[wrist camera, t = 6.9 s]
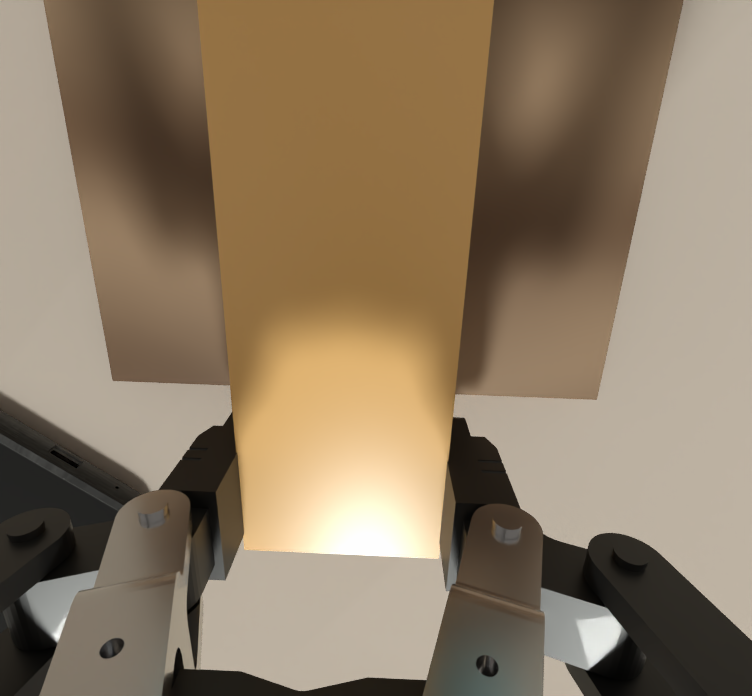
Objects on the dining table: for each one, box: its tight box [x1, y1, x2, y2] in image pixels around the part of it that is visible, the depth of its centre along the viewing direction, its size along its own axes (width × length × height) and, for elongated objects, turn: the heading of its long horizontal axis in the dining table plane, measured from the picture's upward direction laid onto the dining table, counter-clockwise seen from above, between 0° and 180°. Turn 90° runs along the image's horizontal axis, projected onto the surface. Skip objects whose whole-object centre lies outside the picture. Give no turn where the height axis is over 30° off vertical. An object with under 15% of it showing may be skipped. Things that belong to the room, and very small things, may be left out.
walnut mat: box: [44, 0, 683, 400], centre depth 12 cm, size 11×14×1 cm
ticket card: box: [197, 0, 494, 559], centre depth 9 cm, size 13×5×1 cm, turn 178°
